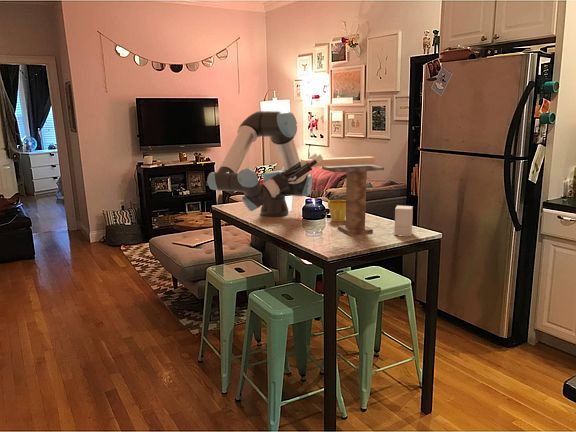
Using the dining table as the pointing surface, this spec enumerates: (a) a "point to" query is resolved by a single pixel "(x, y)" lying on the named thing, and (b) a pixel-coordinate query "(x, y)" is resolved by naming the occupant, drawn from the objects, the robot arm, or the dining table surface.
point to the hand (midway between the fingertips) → (319, 156)
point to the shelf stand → (355, 196)
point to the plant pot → (337, 210)
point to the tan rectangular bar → (341, 161)
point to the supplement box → (403, 220)
